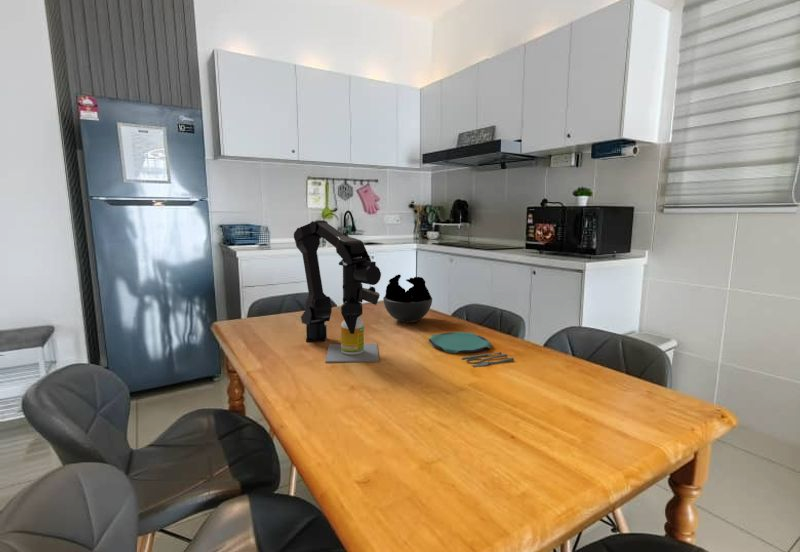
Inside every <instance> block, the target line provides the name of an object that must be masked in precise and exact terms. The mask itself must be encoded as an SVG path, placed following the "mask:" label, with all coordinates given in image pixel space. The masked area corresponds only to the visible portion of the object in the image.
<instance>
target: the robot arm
mask: <svg viewBox="0 0 800 552" xmlns="http://www.w3.org/2000/svg"><path fill="white" fill-rule="evenodd" d="M293 239H294V242H295V246H296V248H297V249H298V251H299V252H300V253H301V254H302V260H303V266H304V272H305V278H306V286H307V292H308V296H307V299H306V301H305V310H304V311H303V313H302V314H301V316H300V319H301V323H302V324H304V325H305V326H306V328H305V329H306V339H305V342H307V343H308V342H309V343H310V342H325V341H326V339H327V338H328V325H327V324H326V322H330V319H331V315H332V310H333V307H332V304H331V298H330V296H327V295H326V294H325V293H324V288H323V282H322V278H321V277H322V276H321V269H320V264H319V263H320V262H319V258H318V257H319V256H318V250H319V247H320V245H321V239H323V240H324V241H327V243H329V244H330V245H332V246H333V247H335V252H336V253H337V254H338V256H339V257H340V258H341V260H340V261H339V262H338V265H339V266H342V304H341V308H340V309H341V311H340V313H341V316H342V317H343V321H344V320H345V322H346V325H347V327H348V329H349V331H350V334H354V331H355V326H356V321H357V318H358V317H359V316H361V317H362V315H363V304H362V303H363V302H368V303H370V304H372V305H374V306H377V304H378V302H379V298H380V293H379V292H378V291H376V287H374V286H375V285H377V284H378V283H379V282H380V281H381V277H382V272H381V269H380V268H379V267H378V266H377V264H376V261H372V260H371V258H370V257H371V256H370V255H369V253H368V251H367V249H366V247H365V243H364V242H363V241H362V240H361V239H358V238H356V237H351V236H347V235H345V234H344V233H342V232H341V231H339V230H338V229H336V228H335V227H333V226H332V225H331V224H329V222H328V221H326V220H324V219H321V220H320V219H316V220H312V221H310V222H309V223H307V224H305V225H302V226H300V227H298V228H296V230H294V233H293ZM363 284H366V285H370V286H369V288H367V287H366V288H365V287H363Z"/></svg>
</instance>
